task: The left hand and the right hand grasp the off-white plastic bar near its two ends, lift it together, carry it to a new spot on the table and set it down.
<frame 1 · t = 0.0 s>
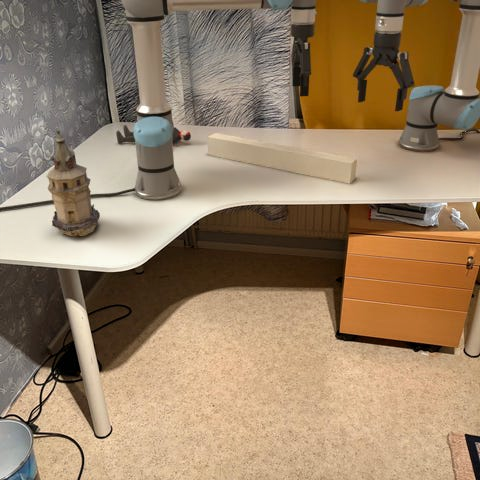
left hand: (300, 91, 180), 28 cm above the table, tool pointing down, fingers open, 13 cm apart
right hand: (379, 106, 163), 28 cm above the table, tool pointing down, fingers open, 13 cm apart
miniature building: (78, 229, 156), on the table
bar: (277, 166, 196), on the table
toy: (156, 142, 221), on the table
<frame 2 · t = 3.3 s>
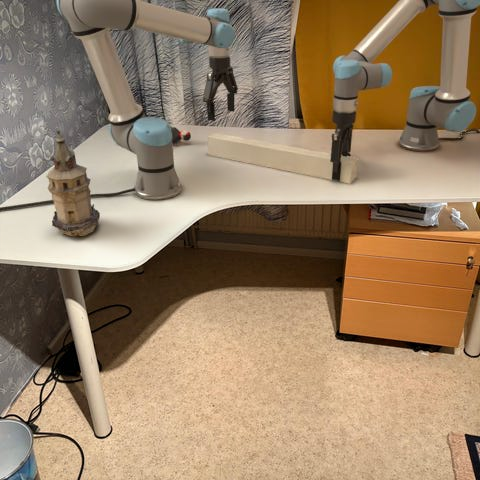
left hand: (221, 115, 199), 16 cm above the table, tool pointing down, fingers open, 13 cm apart
right hand: (339, 176, 185), 1 cm above the table, tool pointing down, fingers closed on bar, 5 cm apart
bar: (277, 166, 196), on the table, touching right hand
everything else where it was.
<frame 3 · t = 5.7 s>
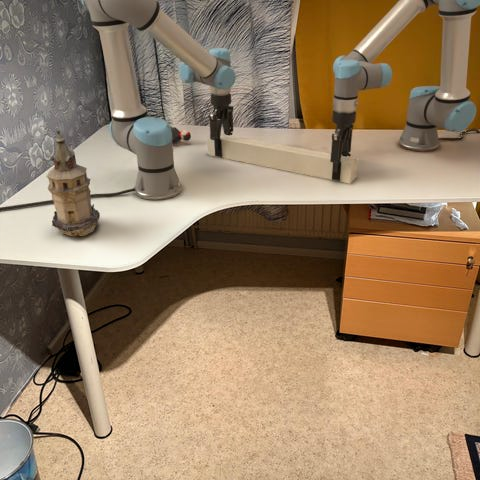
left hand: (222, 153, 207), 1 cm above the table, tool pointing down, fingers closed on bar, 5 cm apart
right hand: (339, 176, 185), 1 cm above the table, tool pointing down, fingers closed on bar, 5 cm apart
bar: (277, 166, 196), on the table, touching left hand, right hand
everything else where it was.
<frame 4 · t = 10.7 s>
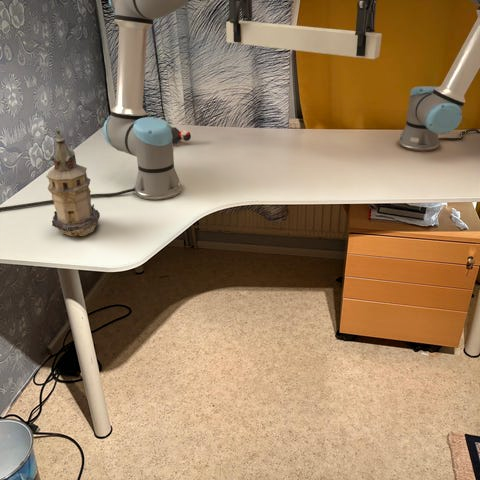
left hand: (241, 40, 202), 39 cm above the table, tool pointing down, fingers closed on bar, 5 cm apart
right hand: (363, 54, 181), 38 cm above the table, tool pointing down, fingers closed on bar, 5 cm apart
bar: (298, 49, 192), point 38 cm above the table, touching left hand, right hand
everything else where it was.
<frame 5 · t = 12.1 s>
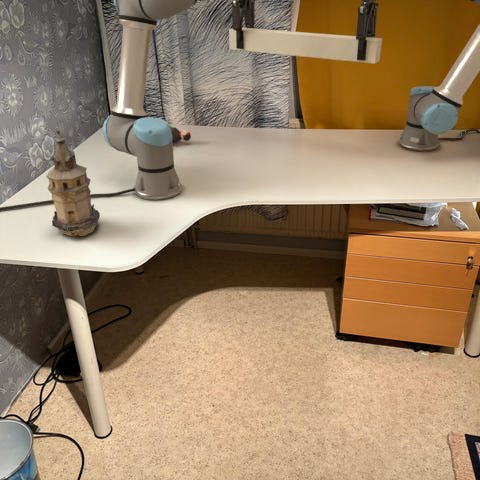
left hand: (243, 47, 206), 36 cm above the table, tool pointing down, fingers closed on bar, 5 cm apart
right hand: (363, 58, 184), 36 cm above the table, tool pointing down, fingers closed on bar, 5 cm apart
bar: (300, 54, 195), point 36 cm above the table, touching left hand, right hand
everything else where it was.
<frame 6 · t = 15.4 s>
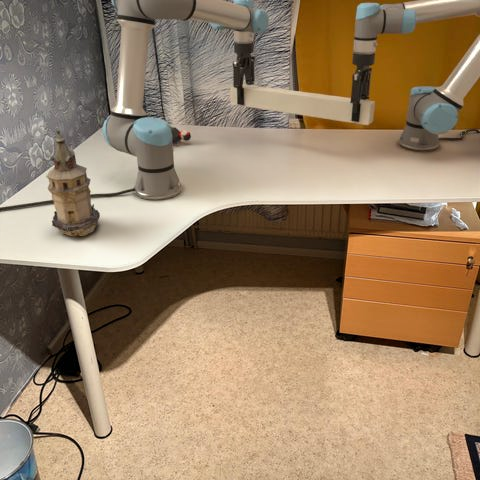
left hand: (244, 102, 216), 15 cm above the table, tool pointing down, fingers closed on bar, 5 cm apart
right hand: (358, 119, 195), 15 cm above the table, tool pointing down, fingers closed on bar, 5 cm apart
bar: (297, 112, 206), point 14 cm above the table, touching left hand, right hand
everything else where it was.
when the left hand's fingers open (2 cm above the table, at t = 18.5 s): bar drops 1 cm, on the table.
when the right hand's fingers open (2 cm above the table, at t = 18.5 s): bar drops 1 cm, on the table.
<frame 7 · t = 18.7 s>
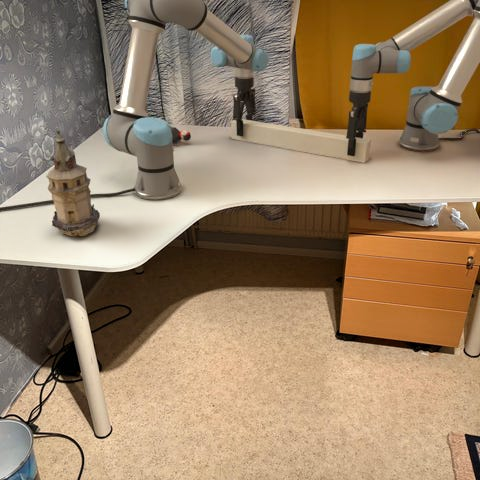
left hand: (244, 133, 222), 2 cm above the table, tool pointing down, fingers open, 7 cm apart
right hand: (354, 152, 201), 2 cm above the table, tool pointing down, fingers open, 7 cm apart
bar: (296, 148, 213), on the table
everything else where it was.
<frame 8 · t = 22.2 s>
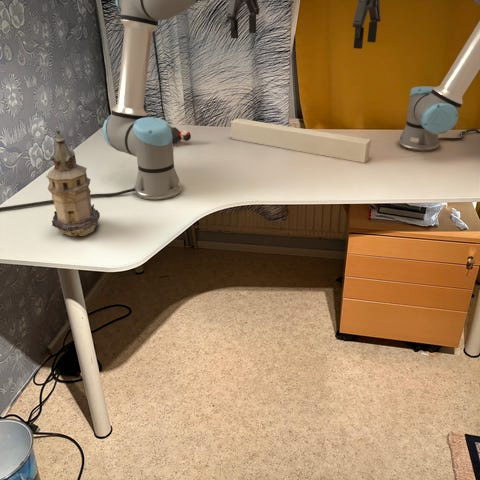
left hand: (243, 35, 204), 41 cm above the table, tool pointing down, fingers open, 13 cm apart
right hand: (364, 45, 182), 41 cm above the table, tool pointing down, fingers open, 13 cm apart
nothing on the table moved.
at the end: bar inside the target area (0.1 cm from its centre), on the table; bar tilted 0°; bar never tilted more than 2° during the clip; both hands held the bar at the same time; the left hand is holding nothing; the right hand is holding nothing; bar at rest at the end (0.0 cm/s) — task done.
